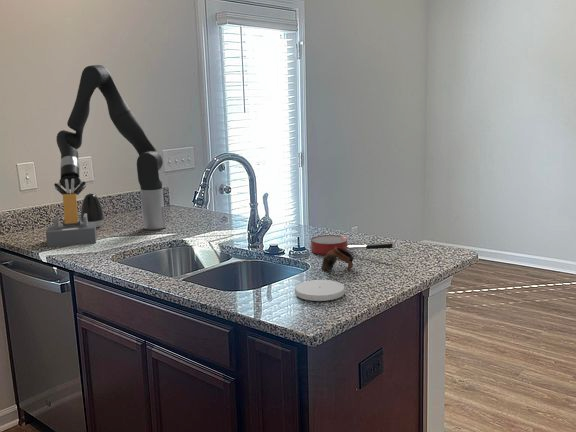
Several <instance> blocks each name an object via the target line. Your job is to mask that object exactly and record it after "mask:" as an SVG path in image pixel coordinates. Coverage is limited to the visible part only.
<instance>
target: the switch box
mask: <svg viewBox="0 0 576 432" xmlns="http://www.w3.org/2000/svg"><path fill="white" fill-rule="evenodd" d="M83 220H84V223H82V222H80V225H71V226H63V223H62V224H61V223H60V217H59V215H55V216H54V219H53V223H54V224H51V225H50V224H49V225H48V228H47V230H45V236H46V246H47V248H53V247H55V248H56V247H65V246H66V247H67V246H76V245H77V246H78V245H87V244H96V242H97V237H98V235H97V234H98V233H97V228H96V222H88V220H87V213H86V214H84V216H83Z"/></svg>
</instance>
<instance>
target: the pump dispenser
mask: <svg viewBox="0 0 576 432" xmlns="http://www.w3.org/2000/svg"><path fill="white" fill-rule="evenodd" d="M104 212H105V211H104V210H103V206H102V204H101V201H100V199H99V197H98V196H97V194H96V193H88V194H86V195H85V196H84V197H83V200H82V203H81V208H80V222H81V223H84V220H83V216H84V214H86V213H87V220H88V222H96V229H98V228H100V227H101V226H103V224H104V221H105V213H104Z"/></svg>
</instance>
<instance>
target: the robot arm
mask: <svg viewBox="0 0 576 432" xmlns="http://www.w3.org/2000/svg"><path fill="white" fill-rule="evenodd" d="M96 89H98V90H99V91H100V93H101V94H102V96H103V97H104V100H105V101H106V104H107V111H108V115H109V118H110V119H111V122H112V123H113V125H114V127H115V128H116V130H117V131H118V133H119V134H120V135H122V137H123V138H124V139H126V141H128V142H129V143H130V144H131V145H132V146H133V147H134V150H135V151H136V153H137V154H138V157H137V158H136V159H137V160H136V170H137V180H138V184H139V187H140V199H141V200H140V201H141V209H142V213H141V214H142V224H143V229H145V230H160V229H161V230H162V229H164V228H166V227H167V225H166V215H165V205H164V193H163V190H164V189H163V182H162V180H161V179H160V176H159V175H160V174H159V171H160V170H161V169H162V167H163V162H164V161H163V158H162V156H161V154H160V152H159V151H158V150H157V149H156V147H155V146H154V145H153V144H152V142H151V141H150V140H149V137H148V136H147V135H146V133H145V131H144V129H143V128H142V126H141V125H140V123H139V121H138V120H137V117H136V116H135V114H134V113H133V111H132V110H131V108H130V107H129V105H128V103H127V102H126V101H125V99H124V97H123V95H122V94H121V93H120V90H119V88H118V87H117V85H116V83H115V81H114V79H113V77H112V75H111V73H110V71H109V70H108V68H106V67H105V66H104V65H101V64H95V65H88V66H86V67H84V68H83V70H82V72H81V75H80V80H79V85H78V89H77V92H76V97H75V101H74V104H73V107H72V110H71V112H70V115H69V117H68V119H67V124H66V125H67V127H68V128H70V129H71V130H73V131H75V132H73V131H68V130H65V129H63V130H60V131H59V132H58V133H57V135H56V138H55V139H56V144H57V148H58V149H59V153H60V179H59V181H58V182H55V183H54V185H53V186H54V189H55V190H56V191H57V192H58V193H59V194H61V196H63V194H76V196H79V195H80V194H81V193H82V192H83V191H84V190H85V188H86V187H87V184H86V181H82V179H81V177H80V162H79V151H78V149H80V148H81V147H82V144H83V134H84V128H85V125H86V124H87V121H88V118H89V115H90V110H91V107H90V106H91V105H90V103H91V98H92V95H93V94H94V92H95V91H96Z"/></svg>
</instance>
